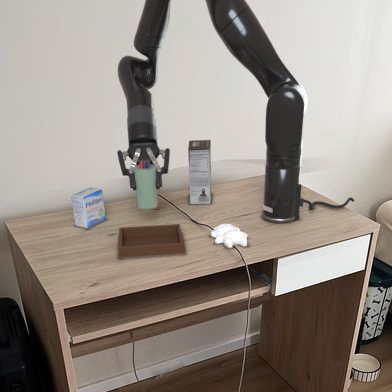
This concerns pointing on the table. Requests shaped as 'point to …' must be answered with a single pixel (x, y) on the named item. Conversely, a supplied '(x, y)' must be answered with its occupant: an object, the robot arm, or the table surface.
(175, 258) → the table surface
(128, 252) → the tray
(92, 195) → the medicine box
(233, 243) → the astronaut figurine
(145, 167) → the pen pot
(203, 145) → the coffee box
